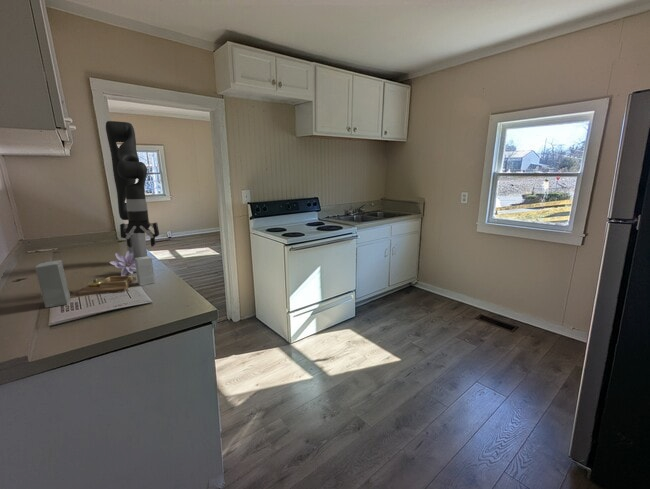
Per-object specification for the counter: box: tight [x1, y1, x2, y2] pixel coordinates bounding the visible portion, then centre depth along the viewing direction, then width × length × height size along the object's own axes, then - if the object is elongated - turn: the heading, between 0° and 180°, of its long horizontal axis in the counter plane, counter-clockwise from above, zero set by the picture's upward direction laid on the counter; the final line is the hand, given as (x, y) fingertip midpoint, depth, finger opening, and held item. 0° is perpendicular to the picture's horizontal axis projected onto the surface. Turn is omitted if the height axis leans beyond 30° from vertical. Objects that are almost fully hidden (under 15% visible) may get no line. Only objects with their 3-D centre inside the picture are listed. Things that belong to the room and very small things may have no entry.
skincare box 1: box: [34, 259, 71, 308], centre depth 113 cm, size 8×7×16 cm
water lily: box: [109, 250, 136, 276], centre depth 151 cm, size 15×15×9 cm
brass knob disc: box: [87, 278, 102, 287], centre depth 130 cm, size 5×5×2 cm
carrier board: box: [78, 274, 137, 296], centre depth 131 cm, size 16×16×3 cm
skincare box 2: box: [135, 255, 156, 287], centre depth 135 cm, size 6×4×12 cm
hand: (141, 246), depth 133 cm, fingers open, 8 cm apart
